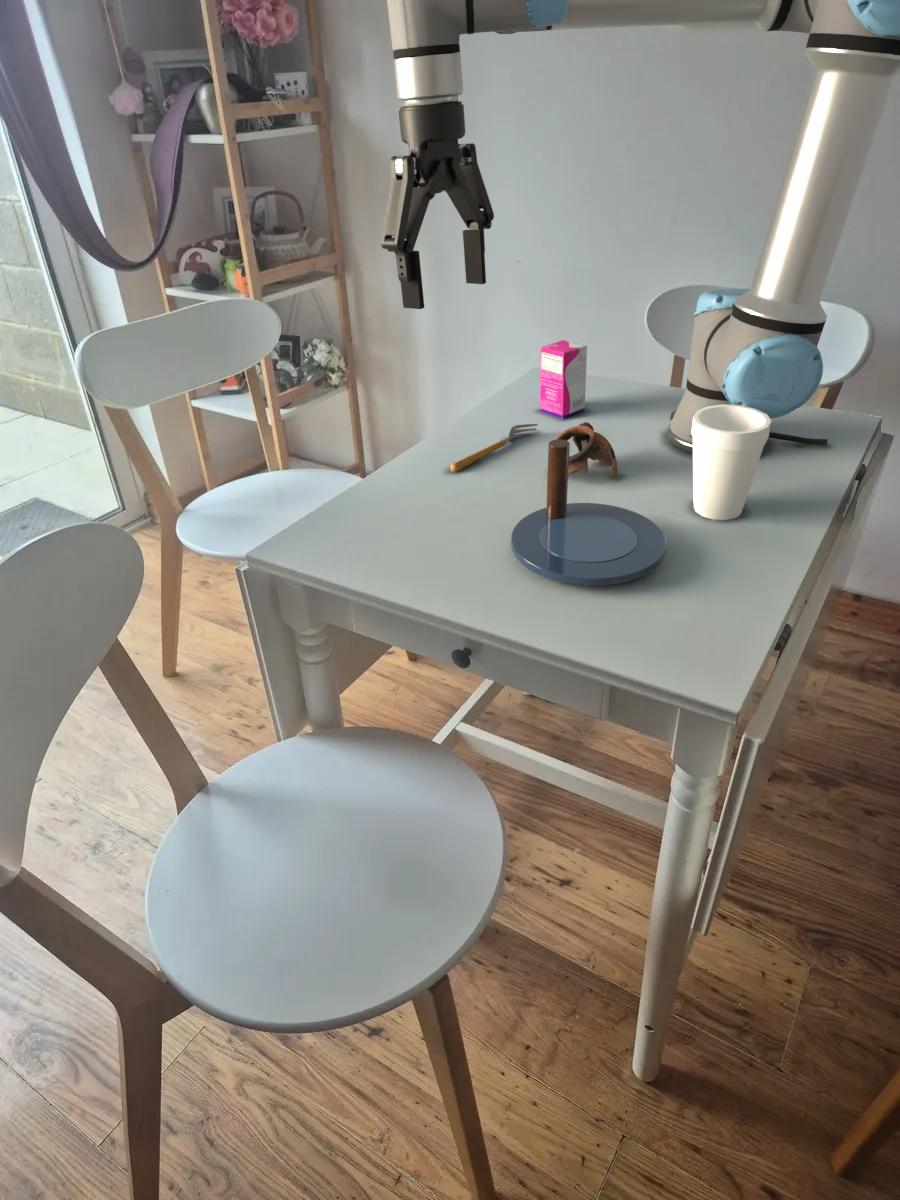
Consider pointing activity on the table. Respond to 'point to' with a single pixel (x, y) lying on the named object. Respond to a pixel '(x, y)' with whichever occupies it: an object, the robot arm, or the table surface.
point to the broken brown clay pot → (589, 448)
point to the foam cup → (726, 457)
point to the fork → (491, 447)
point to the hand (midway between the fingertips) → (446, 295)
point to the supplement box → (563, 378)
